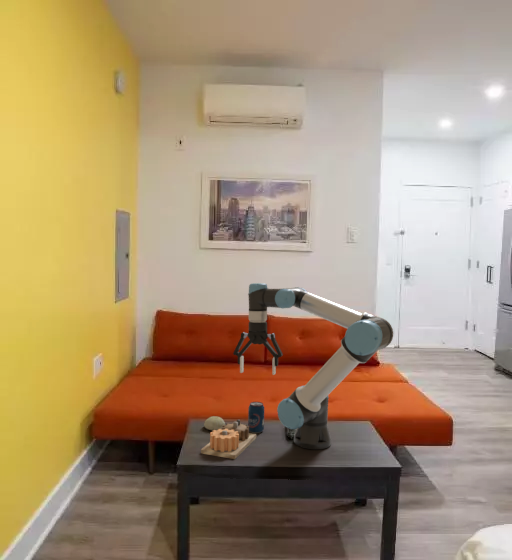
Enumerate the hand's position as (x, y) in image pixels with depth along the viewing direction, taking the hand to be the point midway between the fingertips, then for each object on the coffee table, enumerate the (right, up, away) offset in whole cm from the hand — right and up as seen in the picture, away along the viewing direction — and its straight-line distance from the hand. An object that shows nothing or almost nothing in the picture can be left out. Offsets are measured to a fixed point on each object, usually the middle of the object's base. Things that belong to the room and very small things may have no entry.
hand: (257, 373), depth 201 cm
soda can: (-1, -28, +14) cm, 31 cm away
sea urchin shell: (-19, -27, +16) cm, 37 cm away
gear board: (-11, -28, -4) cm, 30 cm away
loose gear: (-13, -27, -10) cm, 31 cm away
